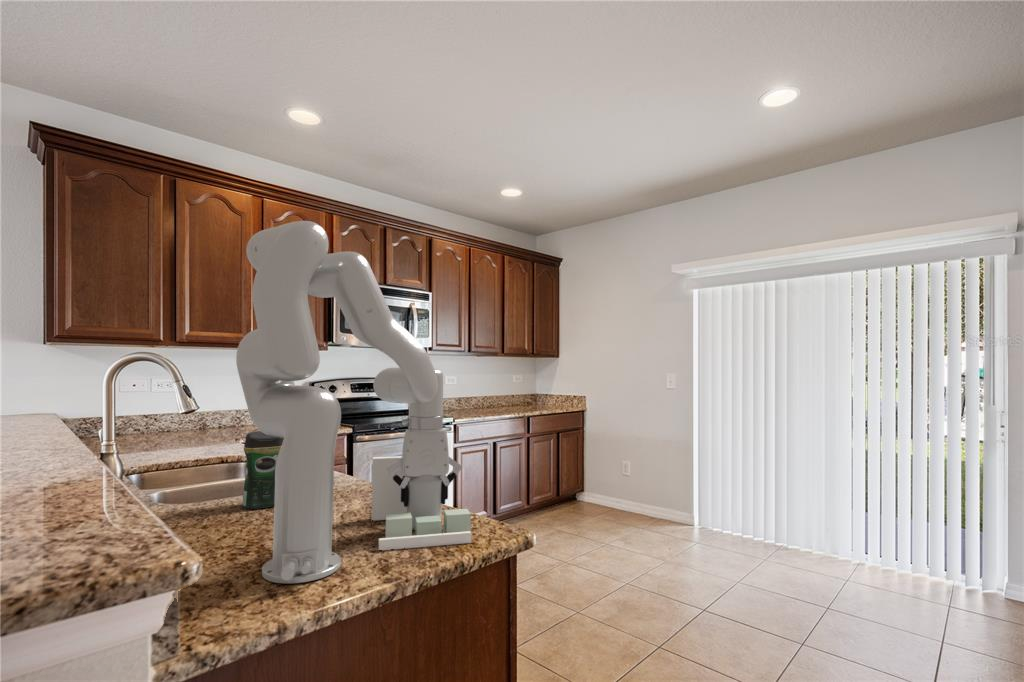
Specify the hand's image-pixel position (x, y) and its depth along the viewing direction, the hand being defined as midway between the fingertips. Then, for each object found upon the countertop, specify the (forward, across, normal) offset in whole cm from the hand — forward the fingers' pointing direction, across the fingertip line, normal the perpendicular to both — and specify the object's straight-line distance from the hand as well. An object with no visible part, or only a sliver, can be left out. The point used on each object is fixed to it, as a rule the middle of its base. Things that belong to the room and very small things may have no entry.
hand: (424, 503), depth 114 cm
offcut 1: (+5, -6, -8) cm, 11 cm away
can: (+5, 0, 0) cm, 5 cm away
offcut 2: (+5, +6, -8) cm, 11 cm away
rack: (+5, -1, -2) cm, 6 cm away
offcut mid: (+5, 0, -8) cm, 9 cm away
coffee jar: (+5, -37, +27) cm, 46 cm away
